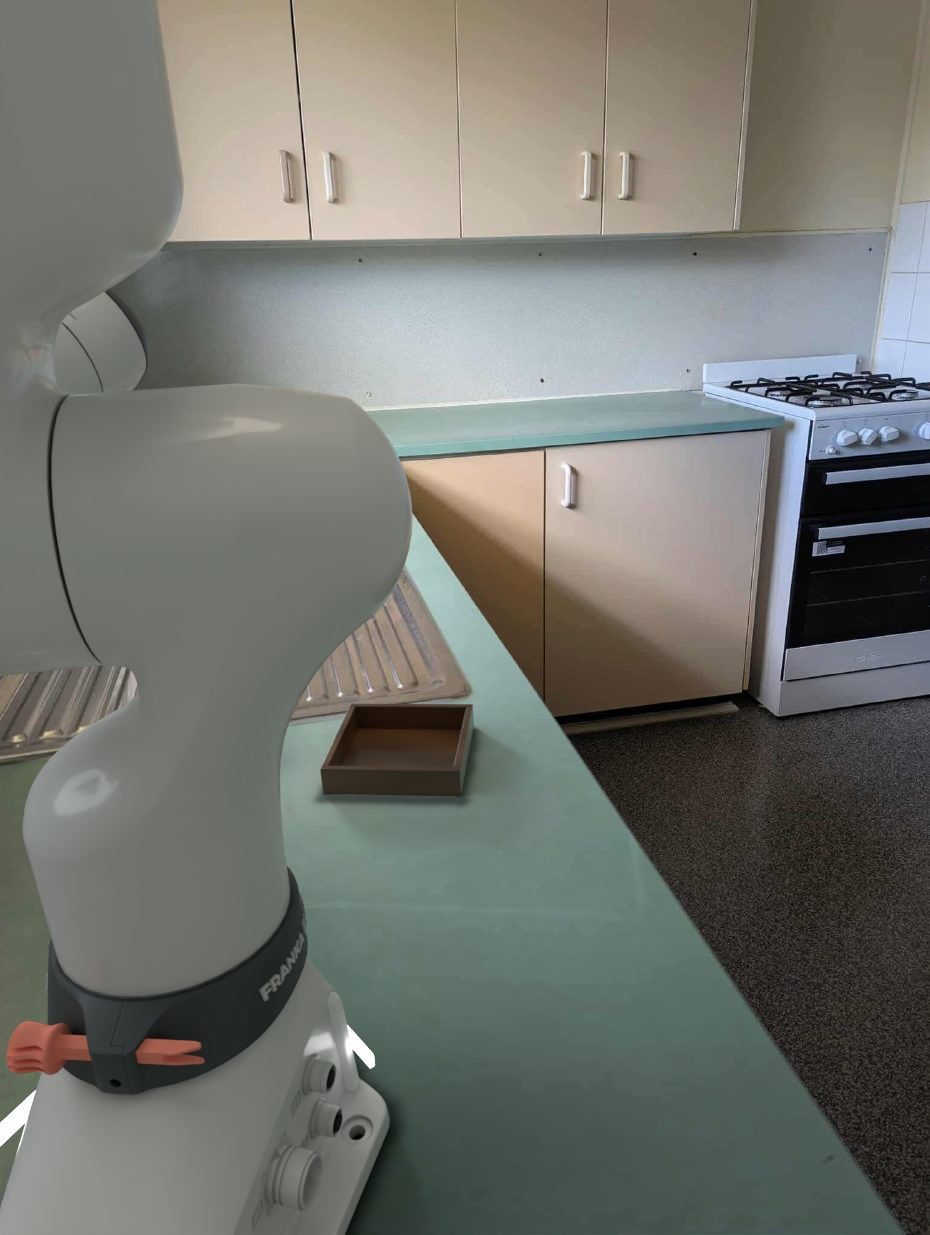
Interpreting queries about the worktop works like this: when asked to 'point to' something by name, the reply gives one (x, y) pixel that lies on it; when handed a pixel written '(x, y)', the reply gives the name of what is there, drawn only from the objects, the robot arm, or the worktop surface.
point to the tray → (400, 750)
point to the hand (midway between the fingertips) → (255, 592)
